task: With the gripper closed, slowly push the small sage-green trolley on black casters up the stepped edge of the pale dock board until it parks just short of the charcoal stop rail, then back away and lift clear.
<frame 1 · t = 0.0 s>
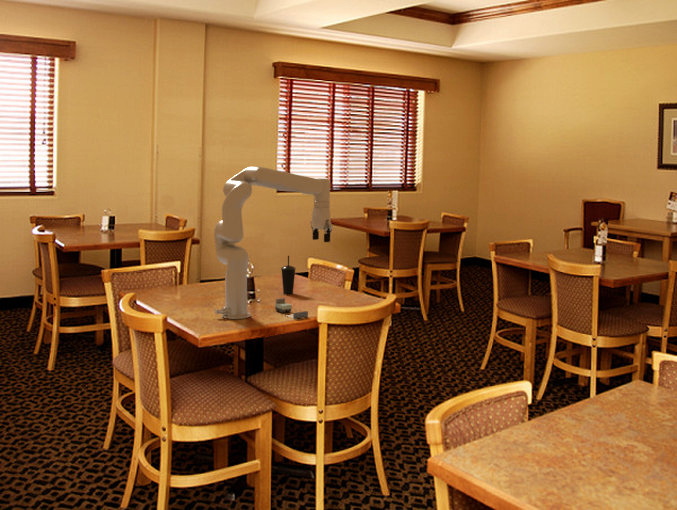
hand: (321, 240, 329), 31 cm above the table, tool pointing down, fingers open, 9 cm apart
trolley: (283, 311, 318), on the table
dock: (296, 316, 309), on the table
drinking cup: (288, 294, 358), on the table
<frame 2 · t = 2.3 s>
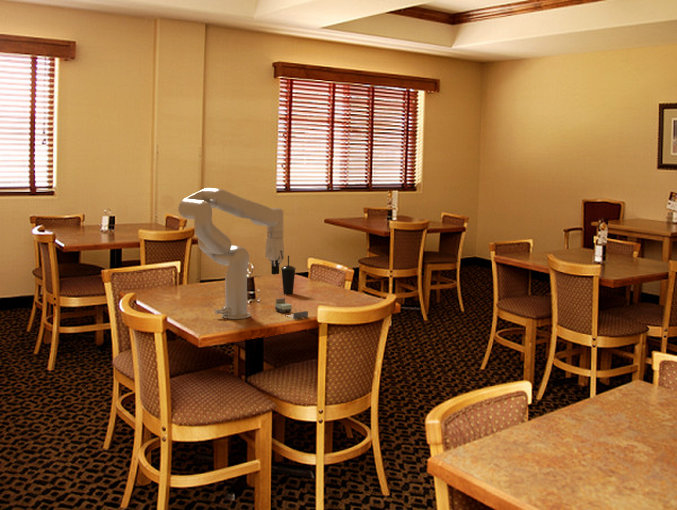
hand: (275, 274, 322), 16 cm above the table, tool pointing down, fingers closed
nothing on the table moved.
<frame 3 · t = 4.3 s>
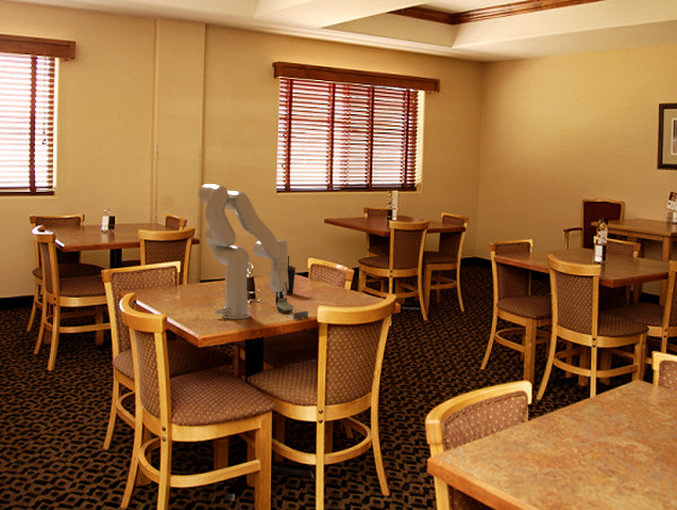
hand: (279, 305, 322), 2 cm above the table, tool pointing down, fingers closed
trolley: (284, 311, 318), on the table, touching gripper
everything else where it was.
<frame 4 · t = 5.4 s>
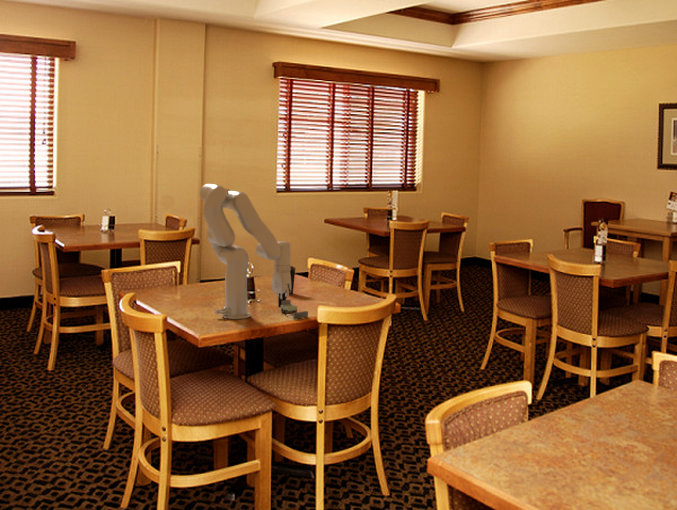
hand: (282, 307, 319), 2 cm above the table, tool pointing down, fingers closed
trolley: (289, 313, 315), on the table, touching dock, gripper
everything else where it was.
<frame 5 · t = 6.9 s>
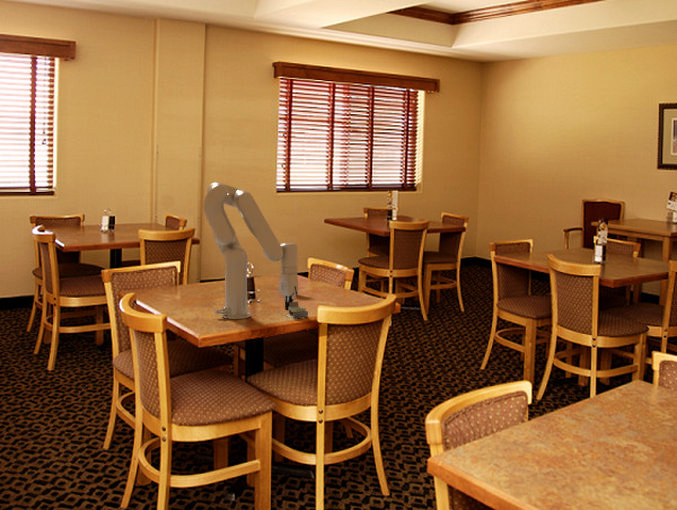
hand: (288, 309, 314), 2 cm above the table, tool pointing down, fingers closed
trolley: (296, 315, 311), resting on dock, touching gripper
everything else where it was.
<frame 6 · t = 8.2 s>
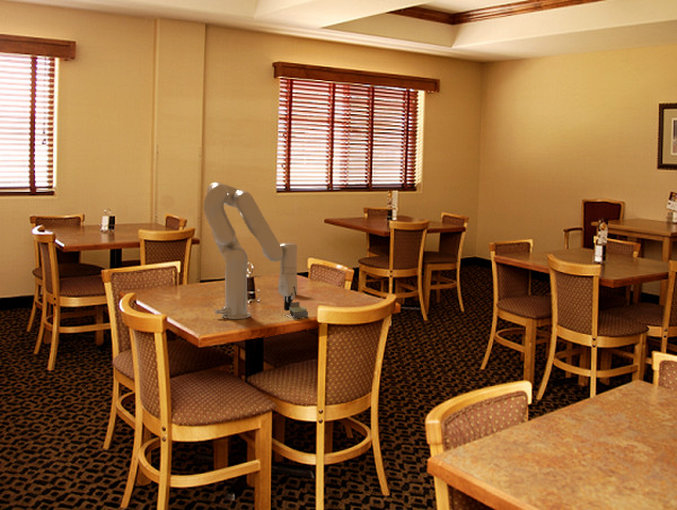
hand: (288, 310, 314), 2 cm above the table, tool pointing down, fingers closed
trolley: (298, 315, 310), resting on dock
everything else where it was.
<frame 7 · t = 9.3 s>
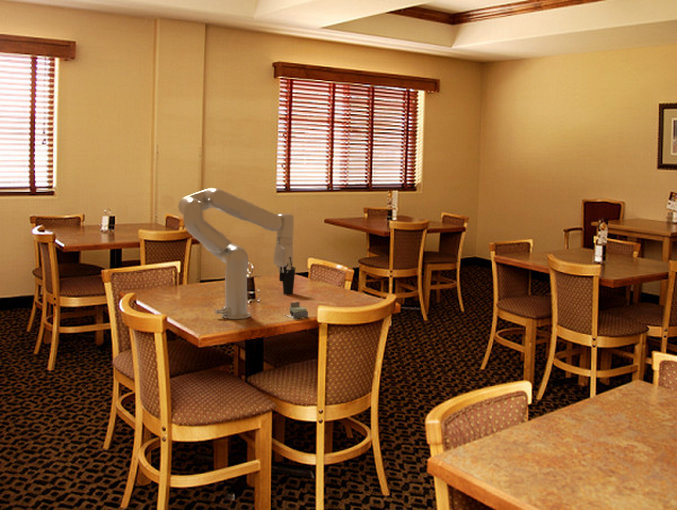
hand: (283, 280, 315), 15 cm above the table, tool pointing down, fingers closed
nothing on the table moved.
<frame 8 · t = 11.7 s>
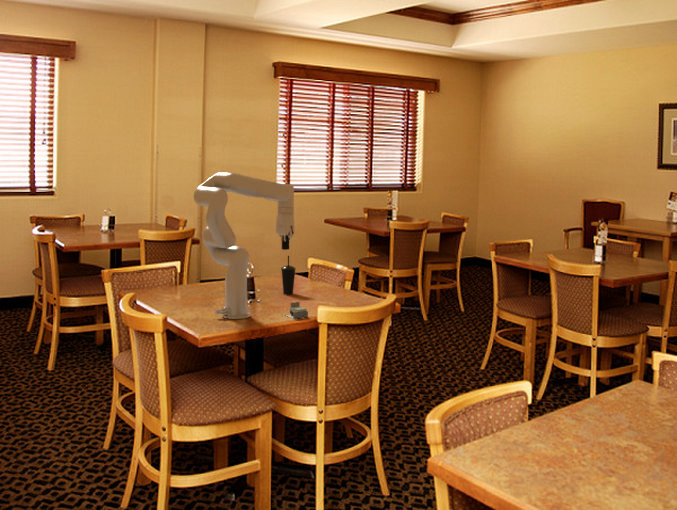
hand: (285, 249, 327), 27 cm above the table, tool pointing down, fingers closed
nothing on the table moved.
at the end: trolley 1.3 cm off-centre on the dock, point 0.3 cm above the dock's base; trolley touching dock; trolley tilted 0° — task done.
